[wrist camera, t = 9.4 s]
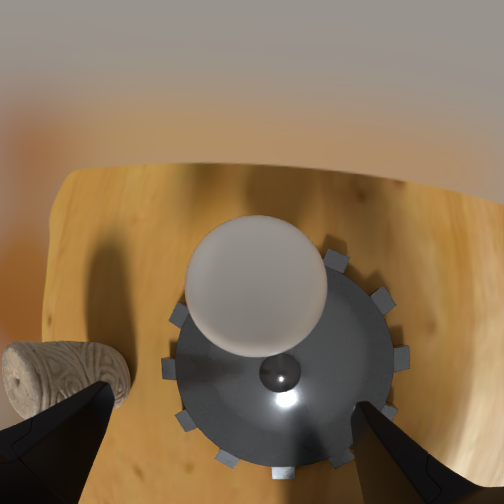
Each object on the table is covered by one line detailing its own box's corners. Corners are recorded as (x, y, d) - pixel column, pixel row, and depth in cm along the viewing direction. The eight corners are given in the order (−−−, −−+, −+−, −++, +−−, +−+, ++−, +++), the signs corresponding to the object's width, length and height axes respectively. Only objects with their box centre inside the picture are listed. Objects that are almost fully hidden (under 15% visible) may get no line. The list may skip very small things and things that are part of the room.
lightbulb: (312, 350, 18) (310, 386, 8) (227, 332, 20) (142, 340, 10) (328, 263, 20) (343, 200, 9) (245, 250, 21) (181, 184, 11)
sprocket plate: (443, 346, 17) (454, 348, 16) (285, 500, 17) (282, 512, 15) (272, 204, 24) (269, 193, 22) (135, 362, 23) (122, 364, 21)
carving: (95, 328, 25) (0, 320, 13) (148, 365, 22) (45, 380, 11) (82, 377, 24) (-6, 384, 12) (131, 416, 22) (39, 448, 10)
